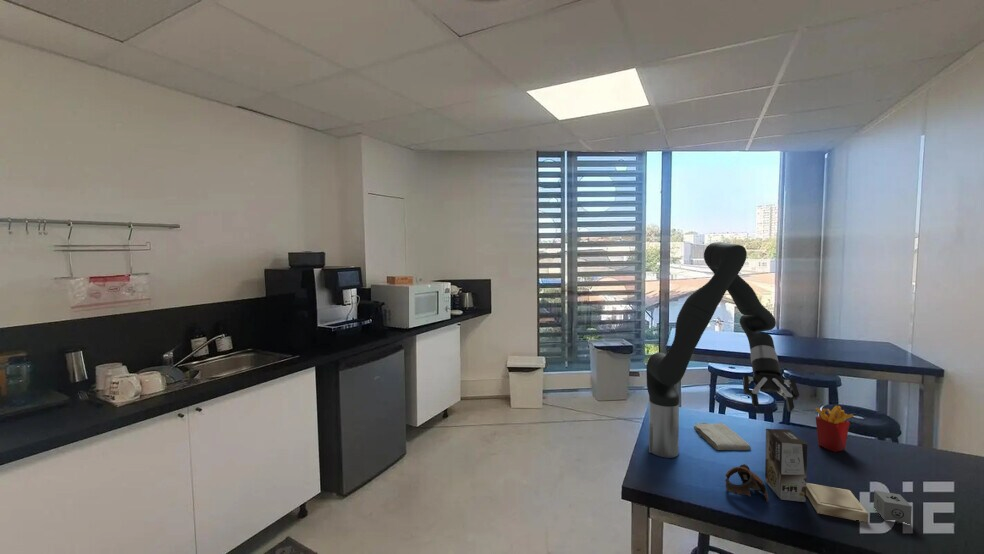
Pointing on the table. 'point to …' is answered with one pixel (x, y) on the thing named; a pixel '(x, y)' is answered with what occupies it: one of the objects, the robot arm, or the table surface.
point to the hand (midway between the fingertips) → (773, 408)
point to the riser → (835, 502)
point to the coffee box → (786, 464)
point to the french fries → (832, 428)
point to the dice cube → (892, 507)
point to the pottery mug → (745, 482)
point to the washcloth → (721, 436)
